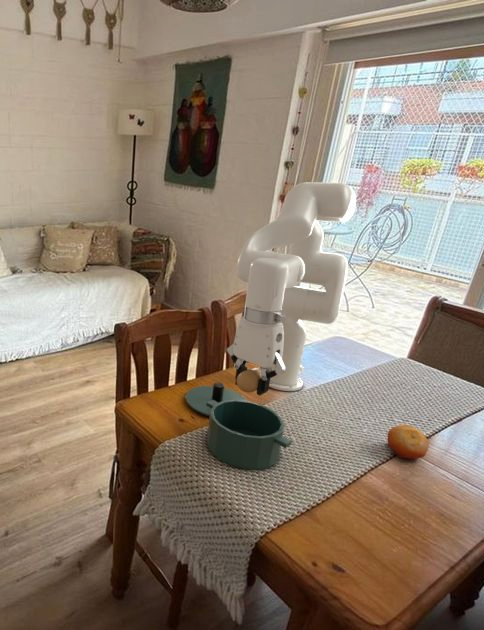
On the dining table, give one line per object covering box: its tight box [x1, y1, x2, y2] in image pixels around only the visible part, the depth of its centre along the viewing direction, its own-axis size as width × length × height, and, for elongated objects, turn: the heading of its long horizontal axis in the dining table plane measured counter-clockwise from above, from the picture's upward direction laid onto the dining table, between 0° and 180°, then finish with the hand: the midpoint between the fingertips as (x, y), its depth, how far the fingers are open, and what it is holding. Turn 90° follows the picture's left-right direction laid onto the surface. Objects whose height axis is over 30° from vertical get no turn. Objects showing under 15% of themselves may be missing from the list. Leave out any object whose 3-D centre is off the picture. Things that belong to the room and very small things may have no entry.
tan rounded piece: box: [236, 366, 261, 393], centre depth 102 cm, size 8×5×5 cm, turn 126°
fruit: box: [386, 424, 430, 460], centre depth 105 cm, size 8×8×8 cm
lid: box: [185, 382, 248, 417], centre depth 126 cm, size 18×18×6 cm
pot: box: [206, 400, 293, 471], centre depth 106 cm, size 17×22×8 cm
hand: (250, 387), depth 102 cm, fingers closed on tan rounded piece, 5 cm apart
